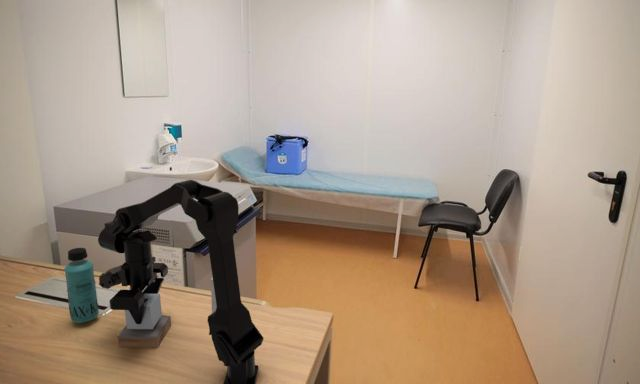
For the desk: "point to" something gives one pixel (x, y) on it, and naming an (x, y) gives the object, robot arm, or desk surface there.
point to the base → (145, 335)
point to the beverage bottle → (81, 286)
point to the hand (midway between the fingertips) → (144, 316)
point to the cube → (147, 314)
